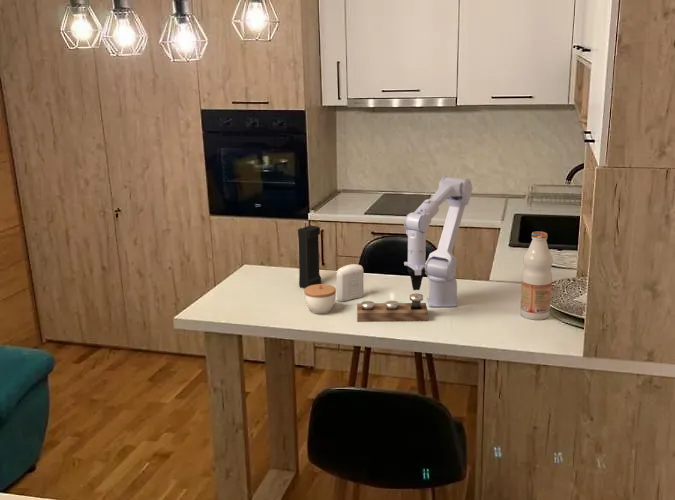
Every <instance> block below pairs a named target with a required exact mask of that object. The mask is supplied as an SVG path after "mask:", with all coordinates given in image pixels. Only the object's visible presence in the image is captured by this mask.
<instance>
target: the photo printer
mask: <svg viewBox="0 0 675 500" xmlns="http://www.w3.org/2000/svg"><path fill="white" fill-rule="evenodd" d="M364 286H365V285H364V268H363V266H362V265H361V264H355V263H351V264H347V265H344V266H342V267H340V268H339V269H337V270H336V299H337V301H338V302H346V301H350V300H355V299H359V298H363V297H364V289H365V288H364Z"/></svg>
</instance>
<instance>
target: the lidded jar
mask: <svg viewBox="0 0 675 500" xmlns="http://www.w3.org/2000/svg"><path fill="white" fill-rule="evenodd" d="M303 291H304V300H305V304H306V306H307V307H308V309H309V311H311V313H313V314H317V315H323V314H327V313H329V312H330V311H331V310H332V308H333V307H334V306H335V303H336V299H337V287H335V286H334V285H331V284H324V283H321V284H316V285H311V286H308V287H306V288H303Z"/></svg>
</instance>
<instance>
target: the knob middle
mask: <svg viewBox="0 0 675 500" xmlns="http://www.w3.org/2000/svg"><path fill="white" fill-rule="evenodd" d="M384 303H385V307H386V308H388V310H396V308H398V307H399V303H400V302H398V301H397V300H387V301H385V302H384Z"/></svg>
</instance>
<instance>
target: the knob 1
mask: <svg viewBox="0 0 675 500" xmlns="http://www.w3.org/2000/svg"><path fill="white" fill-rule="evenodd" d="M360 303H361V308H363V309H364V310H372V308H374V303H375V302H374V301H372V300H364V301H362V302H360Z"/></svg>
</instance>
